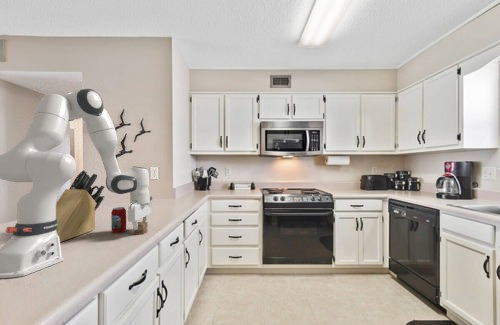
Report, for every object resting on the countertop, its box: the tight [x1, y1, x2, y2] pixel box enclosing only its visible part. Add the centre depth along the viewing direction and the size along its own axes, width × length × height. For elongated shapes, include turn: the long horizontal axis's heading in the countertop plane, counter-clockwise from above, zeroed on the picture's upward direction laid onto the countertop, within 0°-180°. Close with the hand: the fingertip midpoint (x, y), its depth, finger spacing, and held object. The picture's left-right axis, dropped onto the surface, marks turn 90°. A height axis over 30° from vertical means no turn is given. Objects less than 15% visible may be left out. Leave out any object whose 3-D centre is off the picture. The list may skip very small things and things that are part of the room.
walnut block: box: [132, 221, 149, 235], centre depth 140 cm, size 5×5×5 cm
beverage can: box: [110, 206, 127, 234], centre depth 143 cm, size 7×7×12 cm
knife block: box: [56, 170, 105, 243], centre depth 138 cm, size 11×35×31 cm, turn 174°
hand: (140, 226), depth 141 cm, fingers open, 8 cm apart
